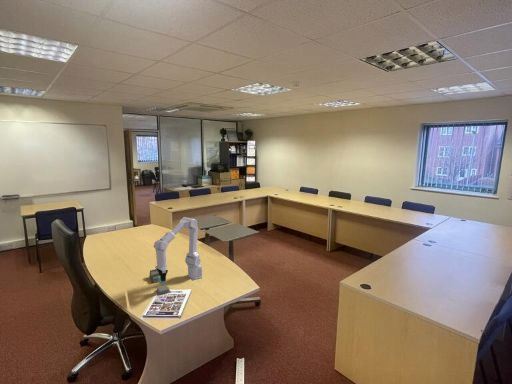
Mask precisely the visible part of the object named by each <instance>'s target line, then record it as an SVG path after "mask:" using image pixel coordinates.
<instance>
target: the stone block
mask: <svg viewBox="0 0 512 384" xmlns="http://www.w3.org/2000/svg"><path fill="white" fill-rule="evenodd" d="M158 276H159V273H158V270H157V269H156V268H154V269H151V270H149V275H148V277H149V280H150V281H151V284H156V283H159V282H158Z"/></svg>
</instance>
